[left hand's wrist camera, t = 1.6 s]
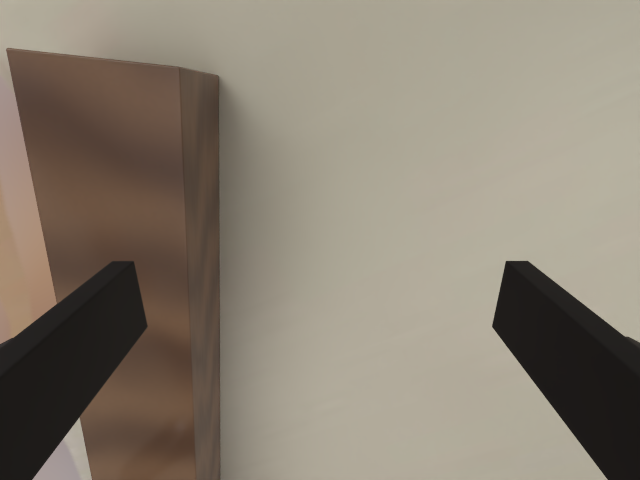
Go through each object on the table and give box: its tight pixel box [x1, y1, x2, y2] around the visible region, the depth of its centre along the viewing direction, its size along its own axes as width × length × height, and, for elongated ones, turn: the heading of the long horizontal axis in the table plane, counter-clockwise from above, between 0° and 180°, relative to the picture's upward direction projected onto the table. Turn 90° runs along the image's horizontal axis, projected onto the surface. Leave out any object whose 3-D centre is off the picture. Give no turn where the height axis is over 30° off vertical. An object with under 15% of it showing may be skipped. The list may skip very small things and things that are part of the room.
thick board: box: [6, 48, 220, 480], centre depth 32 cm, size 55×9×8 cm, turn 174°
